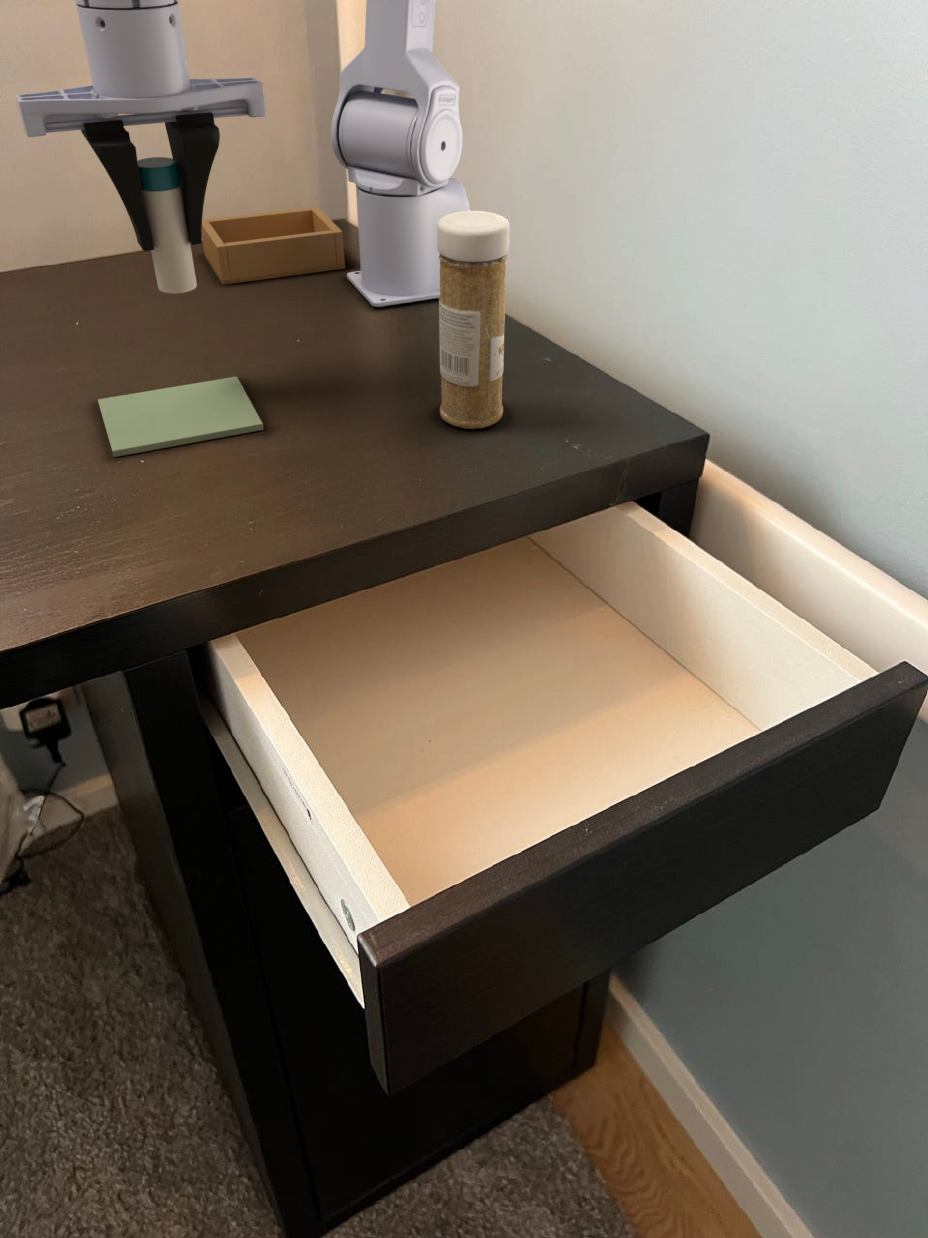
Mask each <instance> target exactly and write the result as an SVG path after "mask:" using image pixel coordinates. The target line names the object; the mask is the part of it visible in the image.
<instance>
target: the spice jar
mask: <svg viewBox="0 0 928 1238" xmlns="http://www.w3.org/2000/svg"><path fill="white" fill-rule="evenodd" d="M510 232H511V225H510V222H509V220H508V219H507V218H506V217H505V216H503V215H500V214H498V213H495V212H490V211H483V210H470V211H461V212H455V213H451V214H447V215H445V216H443V217H442V218H440V220H439V221H438V223H437V251H438V252H439V253H440V255H439V259H440V297H439V298H438V315H439V316H438V319H439V320H438V323H439V324H438V325H439V326H438V327H439V333H438V334H439V335H438V337H439V340H438V341H439V373H440V383H441V384H440V389H441V391H440V396H441V399H440V400H441V404H440V407H439V415H440V417H441V419H442V420H443V421H444V423H448V425H451V426H452V427H456V428H461V429H465V430H466V429H467V430H476V429H484V428H487V427H491V426H492V425H495V424H496V423H498V422H499V421H500V420H501V419H502V417H503V414H504V405H503V397H502V396H503V375H504V374H503V373H504V368H505V367H504V362H505V361H504V360H505V359H504V357H505V319H506V318H505V317H506V309H505V308H506V307H505V294H506V293H505V291H506V290H505V287H506V262H507V257H508V253H509V252H510V242H511V241H510V239H511V236H510V235H511V233H510Z"/></svg>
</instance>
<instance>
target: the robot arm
mask: <svg viewBox="0 0 928 1238" xmlns="http://www.w3.org/2000/svg"><path fill="white" fill-rule="evenodd" d="M75 4H76V5H75V6H76V9H77V14H78V20H79V24H80V30H81V34H82V38H83V43H84V48H85V49H84V50H85V53H86V58H87V63H88V69H89V73H90V78H91V82H92V84H90V85H84V86H83V85H82V86H75V87H69V88H63V89H56V90H49V91H42V92H33V93H21V94H16V95H15V99H16V104H17V107H18V112H19V116H20V119H21V123H22V127H23V130H24V133H25V135H26V137H28V138H36V137H44V136H46V135H47V133H49V134H50V133H59V132H60V133H61V132H73V131H80V132H81V134H82V135H83V137H84V139H85V140H86V141H87V143H88V144H89V146H90V148H91V149H92V150H93V152H94V154H95V155H96V157H97V158H98V160H99V162H100V163H101V165H102V166H103V168H104V170H105V171H106V173H107V175H108V177H109V179H110V180H111V182H112V185H113V187H115V190H116V191H117V193H118V195H119V197H120V200H121V201H122V203H123V206H124V208H125V211H126V213H127V215H128V217H129V221H130V222H131V224H132V227H133V231H134V233H135V237H136V241H137V244H138V245H139V246H140V248H141V250H142V251H143V252H148V251H151V250H154V244H153V237H152V233H151V229H150V225H149V221H148V217H147V213H146V209H145V206H144V201H143V196H142V190H141V184H140V177H139V170H138V162H137V161H138V154H137V147H136V146H135V145H134V143H133V142H132V141H131V136H130V132H129V131H127V130H126V128H125V127H129V126H139V125H140V126H141V125H152V124H164V127H165V131H166V135H167V140H168V143H169V149H170V152H171V156H172V157H171V158H172V159H175V160H176V161H177V162H178V168H179V174H180V180H181V191H182V197H183V203H184V209H185V215H186V222H187V229H188V235H189V241H190V245H192V246H195V245H201V244H203V242H202V220H203V215H204V205H205V199H206V193H207V187H208V182H209V178H210V174H211V172H212V171H211V170H212V167H213V164H214V161H215V157H216V155H217V152H218V149H219V147H220V141H221V140H220V139H221V134H220V128H219V127H218V126H217V125H216V124H215V123H216V122H215V119H220V118H221V119H222V118H232V117H243V116H248V117H250V118H264V117H267V115H268V114H267V105H266V96H265V88H264V82H262V81H261V80H259V79H258V78H256V77H254V76H253V77H236V78H235V77H234V78H190V72H189V71H190V70H189V65H188V57H187V51H186V45H185V38H184V32H183V31H184V30H183V23H182V19H181V11H180V5H179V4H180V3H179V0H75ZM436 4H437V0H366V1H365V23H364V24H365V25H364V26H365V27H364V34H365V35H364V46H363V48H362V50H360V52H358V54H357V55H356V56H354V58H352V60H350V62H349V63H347V65H345V67H344V68H343V69H342V70H341V72H340V74H339V92H338V93H339V94H338V97H337V102H336V105H335V108H334V110H333V115H332V119H331V127H330V137H331V144H332V145H331V146H332V149H333V152H334V155H335V157H336V159H337V161H338V162H339V163H340V165H341V166H342V167H344V168H345V169H347V179H348V182H350V183H354V184H355V195H356V196H355V197H356V211H357V212H356V213H357V214H356V215H357V229H358V232H357V233H358V245H359V247H358V248H359V249H358V250H359V262H360V263H359V264H360V265H359V266H360V270H357V271H350V272H347V274H346V278H347V280H348V281H349V282H350V283H351V284H352V286H354V288H355V289H357V291H358V292H359V293H360V294H361V295H362V296H363V297H364V298H365V300H366V301H367V302H368V303H369V304H370V305H371V306H372V307H375V308H382V307H388V306H394V305H402V304H408V303H415V302H420V301H422V302H423V301H428V300H435V299H439V297H440V259H439V255H440V253H439V252H438V251H437V223H438V221H439V220H440V218H442V217H443V216H445V215H447V214H451V213H455V212H461V211H471V208H470V202H469V197H468V194H467V191H466V188H465V187H464V185H463V184H462V182H461V181H460V180H459V179H457V178H453V177H452V176H453V174H454V173H455V171H456V170H457V167H458V165H459V163H460V160H461V156H462V151H463V143H464V142H463V141H464V139H463V138H464V137H463V129H462V123H461V119H460V109H459V106H460V105H459V104H460V103H459V101H460V91H461V90H460V89H461V87H460V85H459V84H458V83H457V81H456V80H455V79H454V77H453V76H452V75H451V74H450V73H449V72H448V71H447V70H446V68H445V67H444V66H443V65H442V63H440V62H439V60H438V59H437V58H436V56H435V55H434V53H433V51H434V49H433V48H434V35H435V21H436V7H437V5H436ZM385 90H392V91H398V92H404V93H407V94H409V95H411V96H412V97H406V96H401V95H394V94H390V93H389V94H388V93H384V92H383V91H385Z"/></svg>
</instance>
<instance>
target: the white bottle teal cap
mask: <svg viewBox="0 0 928 1238" xmlns="http://www.w3.org/2000/svg"><path fill="white" fill-rule="evenodd" d="M137 162H138V170H139V177H140V184H141V190H142V196H143V201H144V206H145V209H146V213H147V217H148V221H149V225H150V229H151V233H152V237H153V244H154V250H150V252H151V258H152V263H153V268H154V272H155V280H156V283H157V288H158V291H160V292H162V293H165V294H173V295H174V294H175V295H177V294H185V293H188V292H191V291H194V290H196V288H197V286H198V284H197V277H196V270H195V265H194V258H193V252H192V246H191V243H190V241H189V235H188V229H187V222H186V215H185V209H184V203H183V197H182V191H181V180H180V174H179V168H178V162H177V161H176V160H175V159H173V157H167V156H154V157H153V156H152V157H146V158H141V159H137Z"/></svg>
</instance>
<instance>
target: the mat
mask: <svg viewBox="0 0 928 1238" xmlns="http://www.w3.org/2000/svg"><path fill="white" fill-rule="evenodd" d="M240 381H241V380H239V378H238V376H230V377H225V378H218V379H213V380H207V381H201V382H200V381H199V382H196V383H195V382H194V383H189V384H183V385H177V386H171V387H164V388H159V389H153V390H152V389H151V390H145V391H141V392H134V393H127V394H122V395H117V396H110V397H103V398H99V399H97V402H98V407H99V410H100V414H101V417H102V420H103V425H104V428H105V431H106V435H107V438H108V441H109V445H110V448H111V452H112V456H113V458H117V457H123V456H128V455H133V454H134V455H135V454H139V453H145V452H150V451H154V450H155V451H156V450H160V449H166V448H172V447H177V446H183V445H187V444H195V443H199V442H205V441H209V440H215V439H221V438H225V437H231V436H237V435H243V434H248V433H253V432H258V431H259V432H260V431H263V430H264V423H263V422H262V420H261V418H260V415H259V414H258V412H257V411H256V408H255V407H254V405H253V404H252V401H251V400H250V398H249V396H248V394H247V392H246V391H245V388H244V386H243V385H242V383H241V382H240Z"/></svg>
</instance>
